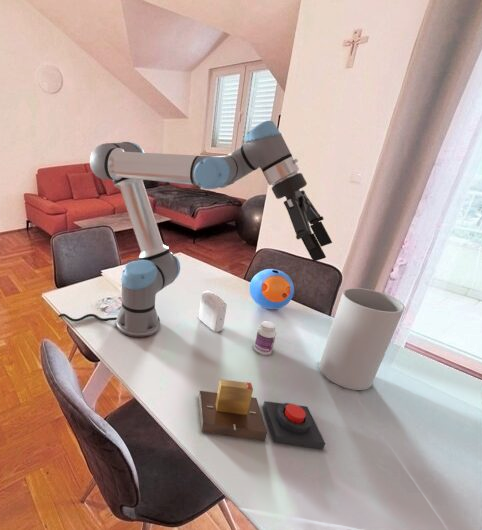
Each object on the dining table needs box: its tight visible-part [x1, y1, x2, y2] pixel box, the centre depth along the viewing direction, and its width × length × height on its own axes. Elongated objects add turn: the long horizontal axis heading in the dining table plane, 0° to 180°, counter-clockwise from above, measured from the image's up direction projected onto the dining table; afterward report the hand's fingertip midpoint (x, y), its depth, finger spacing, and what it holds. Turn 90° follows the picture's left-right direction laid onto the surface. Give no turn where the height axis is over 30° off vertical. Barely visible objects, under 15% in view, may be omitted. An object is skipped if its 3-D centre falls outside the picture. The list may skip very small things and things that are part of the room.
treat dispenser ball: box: [249, 268, 295, 310], centre depth 122 cm, size 16×15×15 cm
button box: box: [262, 400, 326, 451], centre depth 73 cm, size 10×10×4 cm
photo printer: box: [198, 290, 228, 333], centre depth 111 cm, size 10×4×12 cm, turn 23°
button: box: [285, 403, 306, 424], centre depth 72 cm, size 4×4×2 cm
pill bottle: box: [253, 320, 277, 356], centre depth 98 cm, size 5×5×10 cm
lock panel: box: [197, 390, 268, 442], centre depth 76 cm, size 14×11×3 cm
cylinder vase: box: [318, 287, 406, 391], centre depth 85 cm, size 12×12×25 cm
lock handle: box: [215, 379, 254, 415], centre depth 74 cm, size 7×2×8 cm, turn 80°
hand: (323, 251), depth 81 cm, fingers open, 13 cm apart
